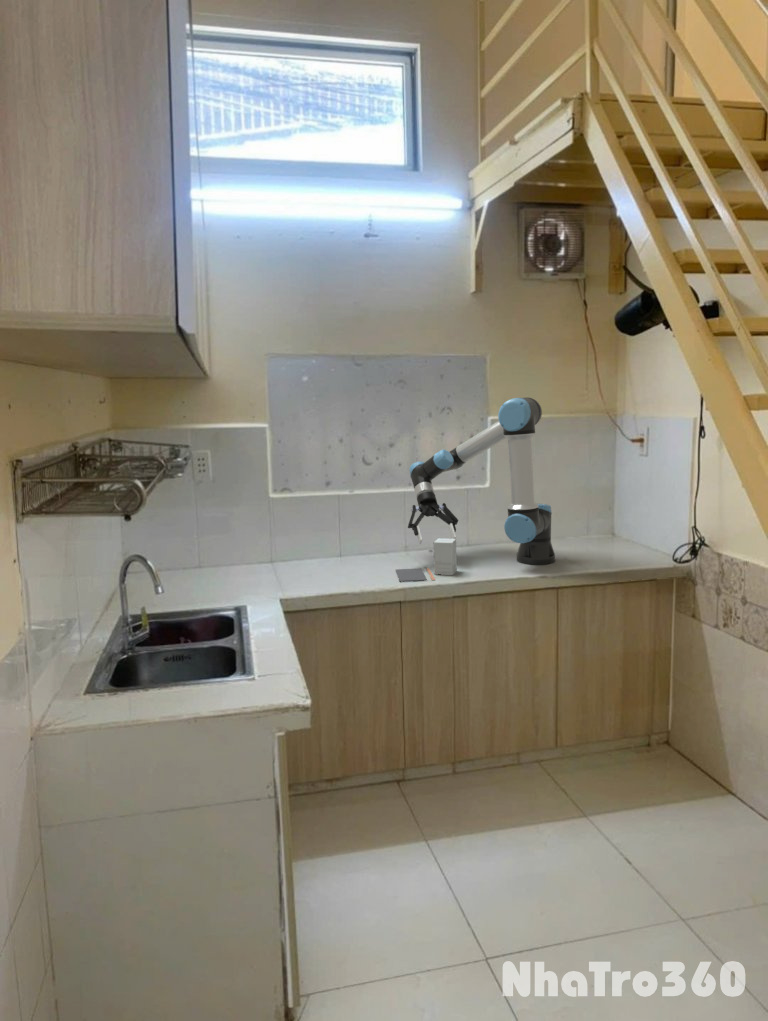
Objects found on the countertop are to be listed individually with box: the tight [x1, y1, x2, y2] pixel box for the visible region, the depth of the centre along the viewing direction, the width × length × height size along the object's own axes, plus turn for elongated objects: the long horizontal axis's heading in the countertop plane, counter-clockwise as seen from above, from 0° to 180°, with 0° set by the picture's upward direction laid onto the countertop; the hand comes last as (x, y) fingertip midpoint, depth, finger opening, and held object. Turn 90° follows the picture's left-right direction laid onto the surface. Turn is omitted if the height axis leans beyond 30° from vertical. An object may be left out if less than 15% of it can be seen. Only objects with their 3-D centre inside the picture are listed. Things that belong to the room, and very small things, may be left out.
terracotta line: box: [426, 567, 436, 581], centre depth 259 cm, size 1×16×1 cm, turn 4°
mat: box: [395, 567, 428, 582], centre depth 258 cm, size 10×16×1 cm, turn 4°
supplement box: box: [433, 537, 458, 576], centre depth 260 cm, size 7×7×13 cm
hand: (437, 540), depth 265 cm, fingers open, 13 cm apart
